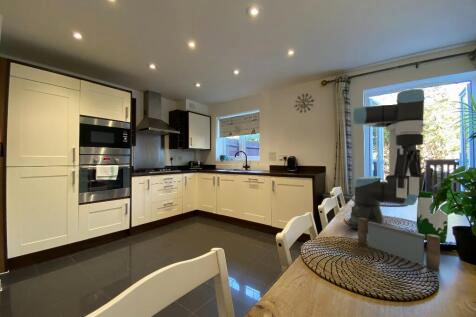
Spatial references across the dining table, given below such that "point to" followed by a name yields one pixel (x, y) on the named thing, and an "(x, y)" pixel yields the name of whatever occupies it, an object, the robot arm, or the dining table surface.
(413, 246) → the gate
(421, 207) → the milk carton
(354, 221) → the salt shaker
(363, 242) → the hinge post
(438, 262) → the post
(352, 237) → the dining table surface
